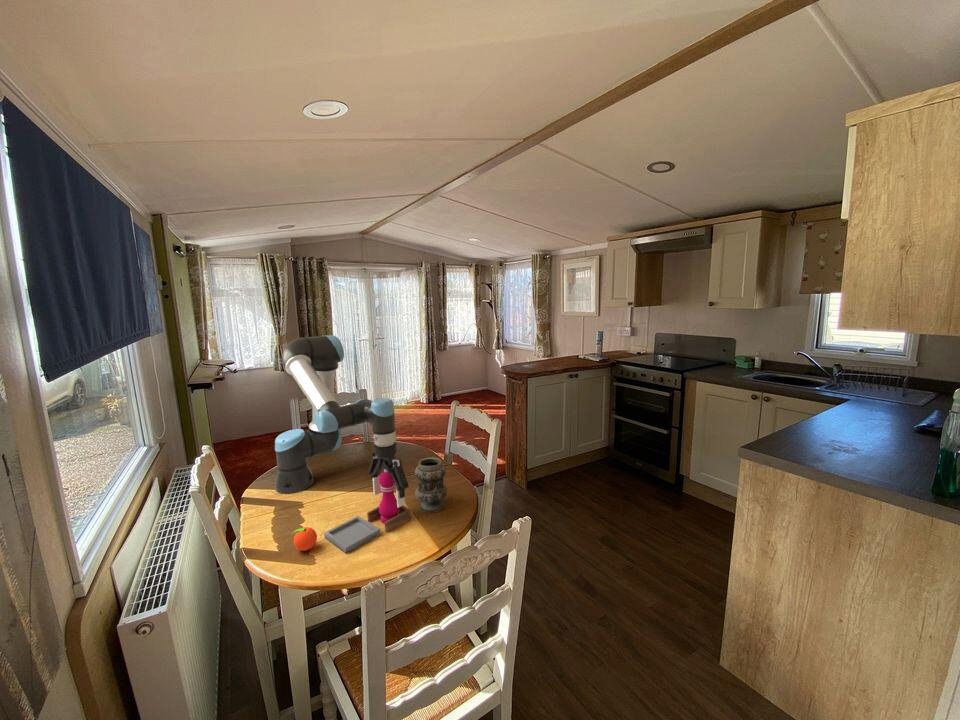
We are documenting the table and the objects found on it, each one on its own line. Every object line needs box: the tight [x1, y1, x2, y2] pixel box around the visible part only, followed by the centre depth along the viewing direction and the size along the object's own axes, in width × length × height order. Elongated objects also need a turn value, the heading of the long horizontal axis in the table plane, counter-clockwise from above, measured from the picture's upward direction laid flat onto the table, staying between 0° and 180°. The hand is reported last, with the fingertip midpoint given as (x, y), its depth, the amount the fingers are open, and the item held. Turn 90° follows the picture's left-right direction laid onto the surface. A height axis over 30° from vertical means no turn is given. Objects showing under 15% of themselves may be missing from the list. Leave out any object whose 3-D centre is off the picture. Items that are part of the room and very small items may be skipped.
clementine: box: [291, 526, 318, 552], centre depth 128 cm, size 8×7×7 cm
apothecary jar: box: [414, 457, 448, 514], centre depth 151 cm, size 12×12×18 cm
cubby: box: [366, 505, 412, 533], centre depth 144 cm, size 11×11×4 cm
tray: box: [323, 515, 381, 554], centre depth 134 cm, size 13×13×2 cm
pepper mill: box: [378, 468, 399, 525], centre depth 142 cm, size 7×7×20 cm
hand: (388, 499), depth 142 cm, fingers open, 13 cm apart
